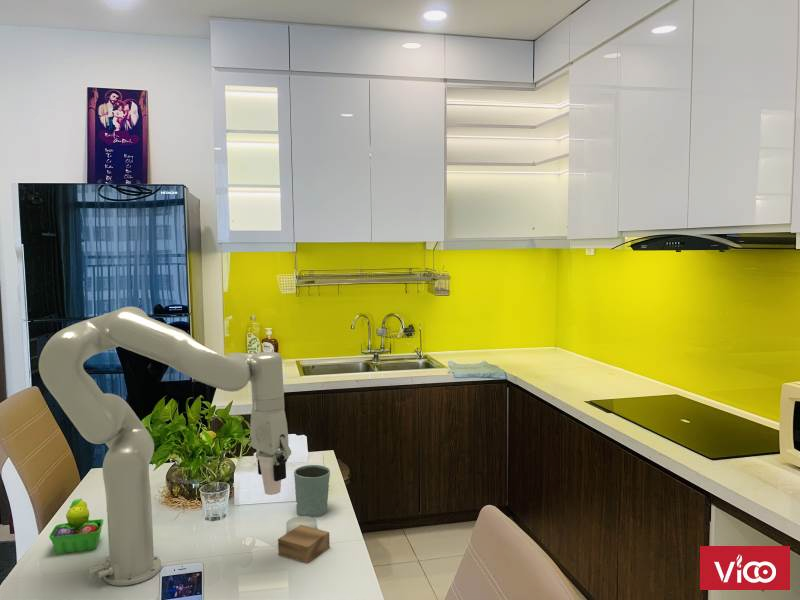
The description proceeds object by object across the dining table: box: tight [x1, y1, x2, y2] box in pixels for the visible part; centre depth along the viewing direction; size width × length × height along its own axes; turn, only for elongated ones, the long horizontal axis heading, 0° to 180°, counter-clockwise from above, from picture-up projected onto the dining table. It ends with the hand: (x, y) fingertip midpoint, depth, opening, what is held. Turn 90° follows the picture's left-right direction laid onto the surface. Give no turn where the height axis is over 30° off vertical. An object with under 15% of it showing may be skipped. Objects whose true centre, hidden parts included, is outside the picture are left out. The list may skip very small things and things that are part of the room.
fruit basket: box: [48, 498, 104, 555], centre depth 162 cm, size 11×9×11 cm
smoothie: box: [256, 449, 282, 496], centre depth 155 cm, size 6×6×14 cm
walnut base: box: [277, 525, 331, 564], centre depth 158 cm, size 9×9×4 cm
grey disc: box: [285, 515, 318, 534], centre depth 169 cm, size 8×8×2 cm
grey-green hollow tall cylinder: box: [293, 464, 331, 518], centre depth 181 cm, size 10×10×12 cm
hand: (272, 475), depth 155 cm, fingers closed on smoothie, 5 cm apart
